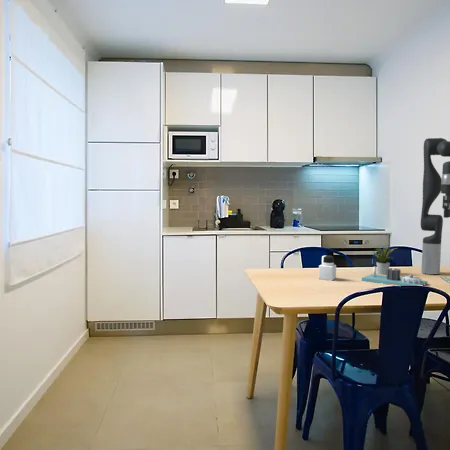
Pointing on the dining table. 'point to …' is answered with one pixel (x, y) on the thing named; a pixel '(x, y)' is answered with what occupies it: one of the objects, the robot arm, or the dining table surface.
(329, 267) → the medicine bottle
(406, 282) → the gear board
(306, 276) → the dining table surface
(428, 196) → the robot arm
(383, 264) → the house plant
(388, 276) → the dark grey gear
